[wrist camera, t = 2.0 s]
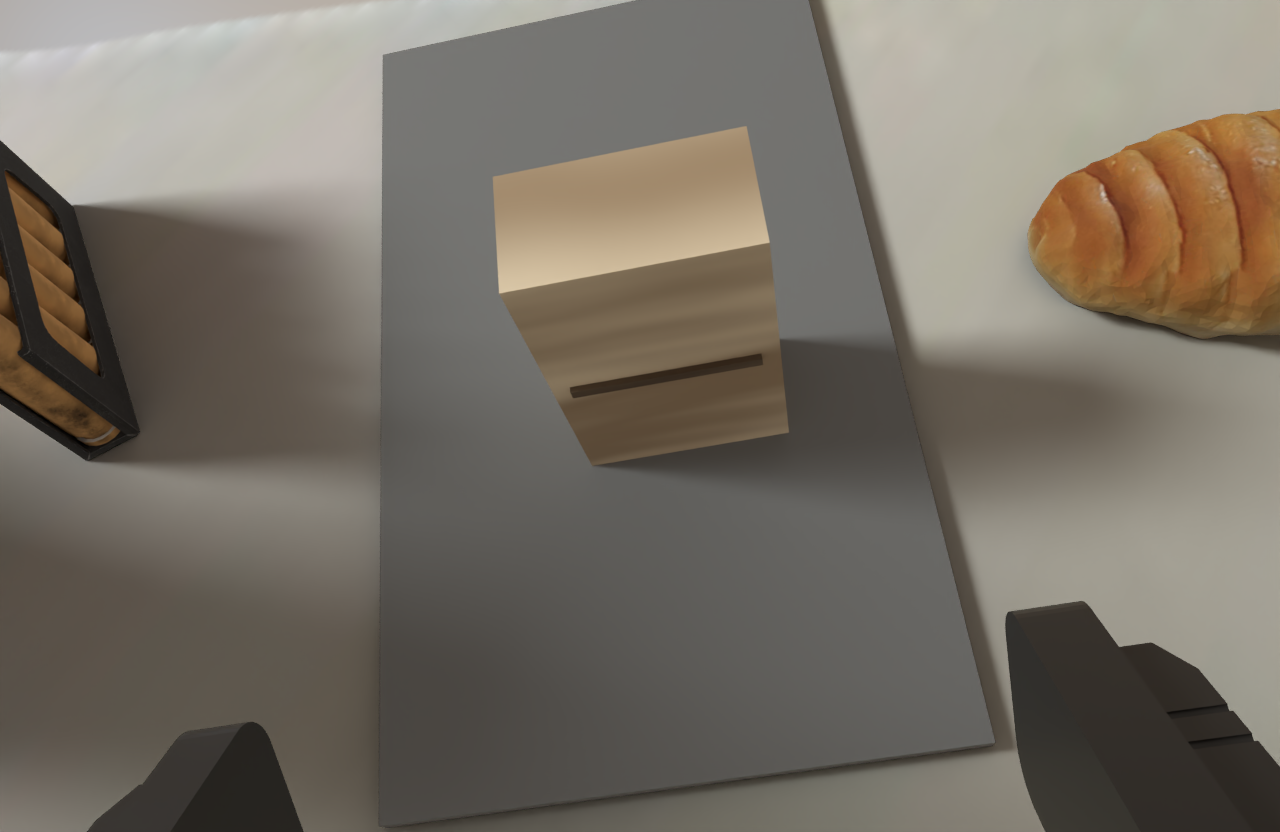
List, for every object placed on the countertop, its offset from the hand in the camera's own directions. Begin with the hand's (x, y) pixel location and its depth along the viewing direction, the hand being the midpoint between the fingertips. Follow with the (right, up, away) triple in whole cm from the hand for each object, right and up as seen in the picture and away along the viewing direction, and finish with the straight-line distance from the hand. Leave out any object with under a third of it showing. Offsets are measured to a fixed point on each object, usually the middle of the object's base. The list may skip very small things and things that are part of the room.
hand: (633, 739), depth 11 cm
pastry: (+17, +8, +19) cm, 26 cm away
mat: (0, +6, +20) cm, 21 cm away
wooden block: (+1, +4, +18) cm, 19 cm away
